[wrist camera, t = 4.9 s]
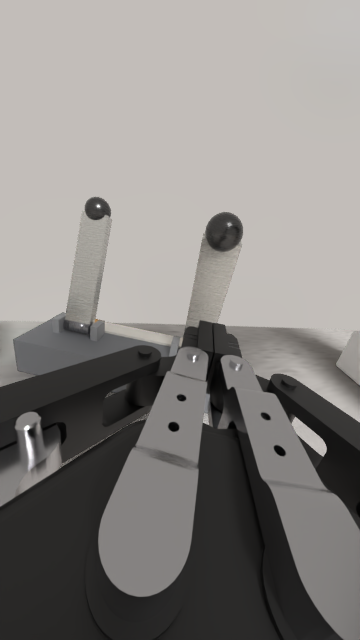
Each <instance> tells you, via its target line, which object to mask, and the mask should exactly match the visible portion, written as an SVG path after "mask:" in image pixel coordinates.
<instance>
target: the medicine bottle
mask: <svg viewBox="0 0 360 640" xmlns="http://www.w3.org/2000/svg"><path fill="white" fill-rule="evenodd" d="M336 366H337V367H338V368H340V369H341V370H342V371H343V372H344V373H345V374H346V375H348V376H349V377H350V378H351V379H352V380H353V381H355V382H356V383H357V384H358V385H359V386H360V331H354V332H353V334H352V335H351V337H350V339H349V341H348V343H347V345H346V346H345V348H344V350H343V352H342V354H341V356H340V358H339V359H338V361H337V363H336Z"/></svg>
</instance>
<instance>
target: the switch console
mask: <svg viewBox="0 0 360 640" xmlns="http://www.w3.org/2000/svg"><path fill="white" fill-rule="evenodd" d="M65 317H66V313H61V314H59V315H57V316H55V317H53V318H52V319H50V320H49V321H47V322H45V323H43V324H41V325H39V326H37V327H36V328H34V329H32V330H30V331H28V332H26V333H25V334H23V335H21V336H19V337H17V338H15V339H13V342H14V349H15V356H16V363H17V369H18V371H21V372H26V373H30V374H35V375H42V374H45V373H48V372H52V371H55V370H58V369H62V368H65V367H68V366H72V365H75V364H78V363H81V362H85V361H88V360H91V359H95V358H98V357H101V356H105V355H108V354H111V353H114V352H118V351H121V350H124V349H128V348H131V347H134V346H138V345H147V346H152V347H154V348H156V349H158V350H159V351H160V353H161V357H171V356H175V355H177V353H178V351H179V349H181V346H182V341H183V338H181V337H178V336H171V335H166V334H161V333H157V332H152V331H147V330H142V329H138V328H133V327H128V326H123V325H118V324H114V323H109V322H105V321H102V320H98V319H95V323H94V324H93V325H92V326H90V335H88V334H83V333H78V332H73V331H69V330H65V329H64V328H63V323H64V320H65ZM124 389H126V385H124V386H121V387H119V388H117V389H114V390H112V391H111V392H115V393H118V392H120V391H122V390H124ZM209 399H210V394H206V398H205V406H204V413H208V409H207V406H208V402H209Z"/></svg>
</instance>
